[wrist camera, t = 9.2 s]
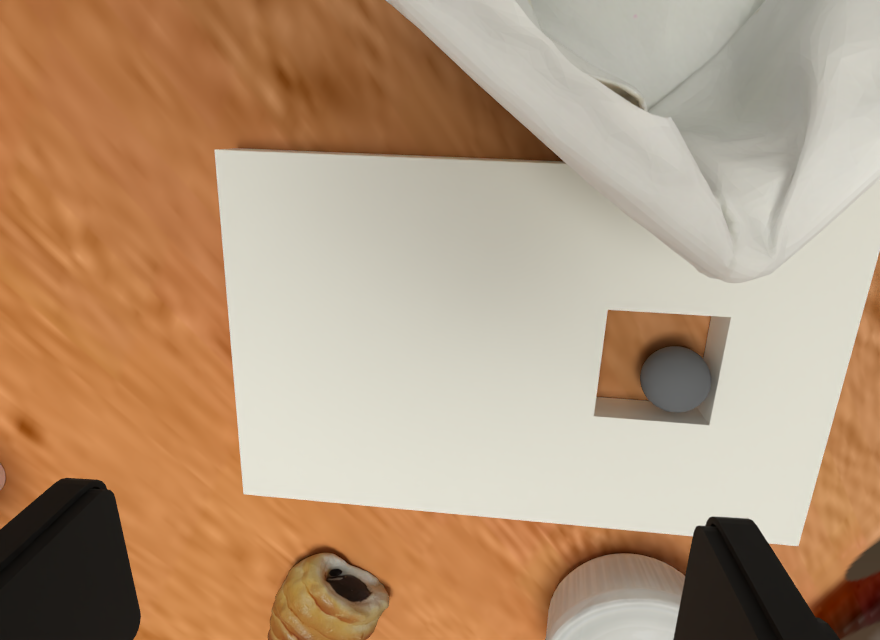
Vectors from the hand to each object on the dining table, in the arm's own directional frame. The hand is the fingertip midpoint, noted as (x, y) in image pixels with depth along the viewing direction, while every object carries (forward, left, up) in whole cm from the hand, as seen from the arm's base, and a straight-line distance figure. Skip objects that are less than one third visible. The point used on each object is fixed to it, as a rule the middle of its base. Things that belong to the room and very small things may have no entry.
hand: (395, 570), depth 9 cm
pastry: (+24, -9, -24) cm, 35 cm away
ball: (+5, +11, -22) cm, 25 cm away
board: (+5, +3, -24) cm, 24 cm away
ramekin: (+23, +11, -24) cm, 35 cm away
